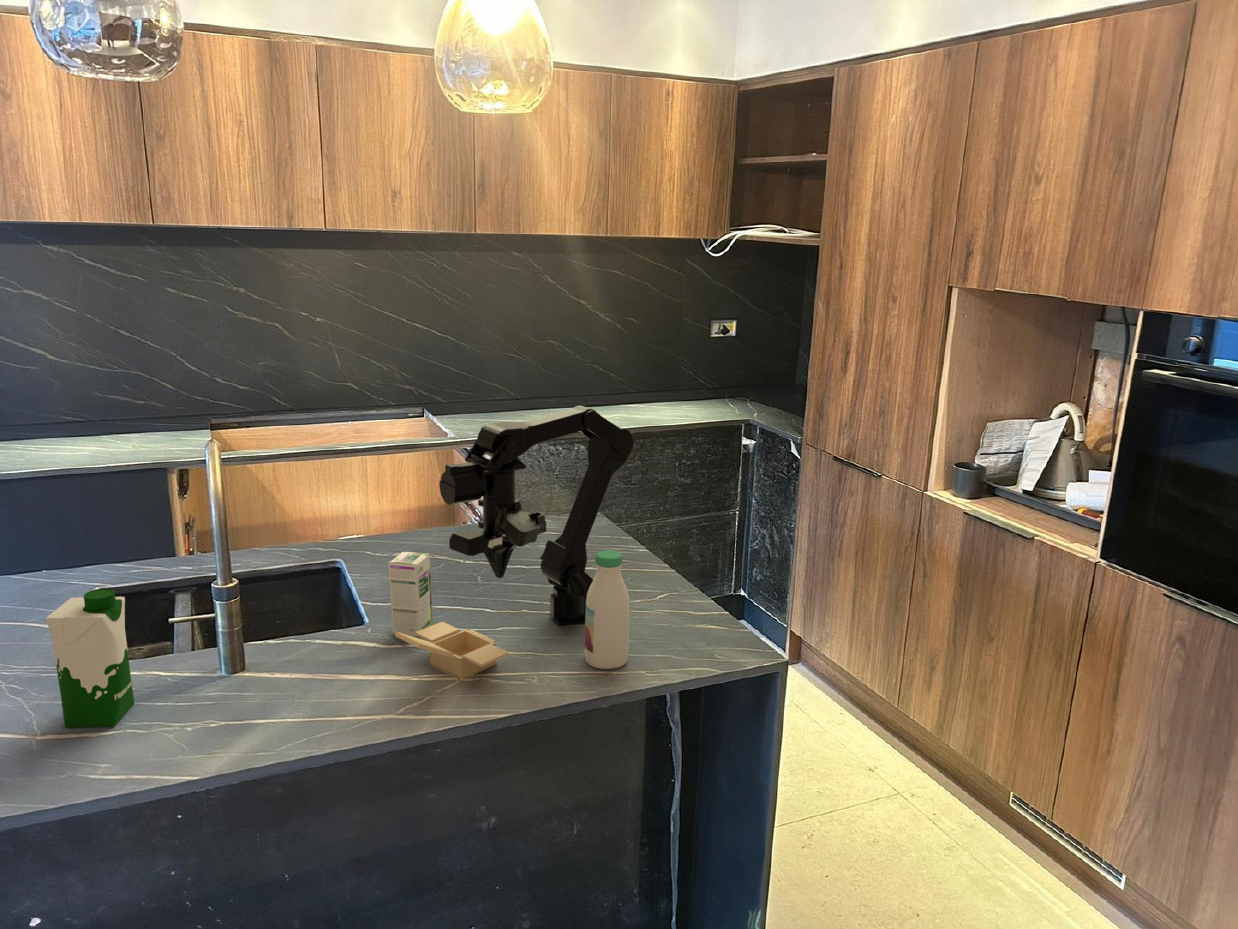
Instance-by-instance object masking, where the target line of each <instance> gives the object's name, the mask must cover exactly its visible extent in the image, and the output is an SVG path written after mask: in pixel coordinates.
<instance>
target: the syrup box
mask: <svg viewBox="0 0 1238 929" xmlns="http://www.w3.org/2000/svg"><path fill="white" fill-rule="evenodd" d="M387 565H388V580H389V595H390V614H391V627H392V628H391V629H392V630H391V631H392V632H391V633H392V634H393V635H395V633H396V632H399V633H402V634H405V635H409V636H412V637H415V638H420V637H419V636H417V635H415V632H417V631H420V630H422V629H425V628H427V627H430V626H432V625H434V623H433V621H434V620H433V606H432V604H433V602H432V601H433V600H432V583H431V561H430V554H428V553H423V552H415V551H414V552H413V551H401V553H400V554H398V555H397V556H395V557H394V558H393V559H392V560H390V561H389V562H388V564H387Z"/></svg>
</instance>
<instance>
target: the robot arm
mask: <svg viewBox="0 0 1238 929" xmlns="http://www.w3.org/2000/svg"><path fill="white" fill-rule="evenodd" d="M579 432H580V433H581V434H582V435H583V436H584V437H586V439H588V440H589V441H588V445H587V462H588V466H587V468H586V470H585V474H584V476H583V479H582V482H581V485H580V487H579V489H578V492H577V494H576V497H575V499H574V502H573V504H572V507H571V509H570V513H569V515H568V518H567V521H566V523H565V526H564V528H563V531H562V533H561V534H560V536H558V537H557V538H556V539H555V540H551V539H548V540H547V542H546V544H545V547H544V551H543V553H542V555H541V556H540V557H539V560H541V562H540V570H541V573H542V574H543V576H544V577H545V578H546V579H547V582H548V584H550V585H552V593H551V594H550V597H549V599H550V604H549V605H550V607H549V610H550V611H549V614H550V615H551V617H552V619H554V620H555V622H556V623H557V625H559V626H563V625H570V624H579V623H585V612H586V598H587V593H588V590H589V587H590V585H591V583H592V582H593V579H594V578H592V577H591V576H590V575H588V573H587V572H585V571H586V567H587V563H588V554H587V542H588V539H589V536H590V534H591V531H592V528H593V527H594V525H595V524H594V523H595V521H596V518H597V516H598V512H599V510H600V508H601V505H602V503H603V500H604V497H605V495H606V493H607V491H608V487H609V485H610V482H611V479H612V477H613V475H614V474H615V473H616V472H618V470H619V469H620V468H621V467H622V466H624V465H625V464H626V461H627V460H628V458H629V456H630V455H631V454H632V450H633V449H634V445H635V440H634V437H633V434H632V433H631V431H630V430H629V429H627V428H623V427H620V426H617V425H616V424H614V423H613V422H611V421H610V420H608V419H606V418H605V417H604V416H602V415H601V414H600V413H598V412H597V411H596V410H595V409H593V408H590V407H587V406H584V405H575V406H574V407H572V408H570V409H566V410H562V411H559V412H555V413H551V414H548V415H544V416H541V417H538V418H534V419H529V420H527V421H526V420H525V421H520V422H515V421H514V422H512V421H511V422H509V421H505V422H504V421H502V422H501V421H499V422H489V423H487V424H484V425H483V426H482V427H481V428H480V430H479V432H478V434H477V438H476V439H475V442H474V443H473V446H471V448H470V450H469V452H468V453H467V455H466V457H465V458H464V461H465V462H464V463H456V464H455V463H448V464H446V465H445V466H444V467H445V468H444V469H445V471H444V472H443V473H441V476H440V480H439V485H438V486H439V487H438V488H439V491H440V492H439V493H440V496H441V498H442V500H443V501H444V503H445V504H446V505H448V506H449V505H450V506H451V505H457V504H463V503H468V502H473V501H477V505H478V506H479V507H482V520H481V521H478V523H477V524H478V528H480V529H482V531H480V532H477V531H474V530H473V529H472V530H471V529H469V528H467V529H463V530H459V531H457V532H453V533H452V534H451V535H450V536H449V539H448V542H449V544H448V545H449V549H450V550H452V551H454V552H458V553H460V554H462V555H466V556H468V557H474V556H477V555H480V554H484V556H485V558H486V559H487V561H488V563H489V566H490V567H491V569H492V572H493V574H494V576H495V577H496V578H498V579H502V578H503V577H504V576H505V573H506V571H507V570H506V569H507V568H508V564H509V562H510V559H511V556H512V554H513V551H514V550H515V549H516V548H517V547H524V546H525V545H528V544H531V543H533V544H534V543H535V542H537V539H538V537H539V536H538V535H540V534H543V533H545V532H547V521H546V517H545V516H546V514H545V513H543V512H542V511H540V510H537V511H534V512H529V511H527V510H526V511H522V510H523V509H522V504H521V501H520V500H519V499H518V500H517V499H516V471H519V470H525V469H527V465H526V464H525V463H524V462H523V461H521V459H520V458H519V457H521V456H522V455H524V454H526V453H527V451H529V450H530V448H532V447H534V446H536V445H539V444H543V443H546V442H550V441H552V440H557V439H559V438H562V437H563V438H564V437H565V436H569V435H570V436H571V435H573V434H576V433H579ZM485 455H486V456H489V457H491V458H490V459H489V458H488V457H485Z"/></svg>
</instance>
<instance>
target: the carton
mask: <svg viewBox="0 0 1238 929" xmlns="http://www.w3.org/2000/svg"><path fill="white" fill-rule="evenodd" d="M415 635H417V636H419V637H418V638H420V639H422V640H425V641H428V642H431V643H433V644H435V645H437V646H439V647H441V648H443V649H445V650H447V651H449V652H451V653H453V654H454V656H453V658H451V657H448V656H444V655H441V654H438V653H434V652H431V651H429V665H430V666H431V665H432V666H431V667H433V668H435V669H437V670H439V671H440V672H443V673H445V674H447V675H448V676H450V677H452V676H453V678H454V677H455V679H456V678H457V679H456V680H459V681H462V679H463V680H464V678H465V679H466V677H467V678H469V677H471V676H473V675H475V673H476V674H478V673H480V672H482V671H484V670H486V669H489V668H490V667H493V666H495V665H497V661H498V660H500V659H503V658H505V657H507V656H509V651H507V650H505V649H502V648H501V647H498V646H497V643H496V640H495V639H493V638H491V637H488V636H486V635H484V634H481V633H480V632H477V631H475V630H473V629H469V630H468V629H466V628H464V629H462V630H460V629H459V628H457V627H455V626H453V625H450V624H448V623H446V622H444V621H440V622H438V623H435V624H432V625H431V626H430V627H427V628H425V629H422V630H420V631H417V632H415ZM479 671H480V672H479ZM468 676H469V677H468Z"/></svg>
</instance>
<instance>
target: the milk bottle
mask: <svg viewBox="0 0 1238 929" xmlns="http://www.w3.org/2000/svg"><path fill="white" fill-rule="evenodd" d="M622 564H623V554H622V553H621V552H619V551H618V550H617V551H616V550H609V549H607V550H600V551H598V552H596V554H595V568H596V571H595V575H594V576H593V577H594V578H592V579H593V582H592V583H591V585H590V587H589V590H588V593H587V598H586V612H585V622H584V660H585V662H586V664H588V666H590V667H592V668H596V669H600V670H612V669H613V670H615V669H618V668H621V667H623V666H624V665H625V664H626V663H627V662H628V660H629V642H630V640H629V639H630V595H629V591H628V588H627V585H626V584H625V581H624V580H623V576H622V572H621V571H622V570H621V568H622V567H623V565H622Z"/></svg>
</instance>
